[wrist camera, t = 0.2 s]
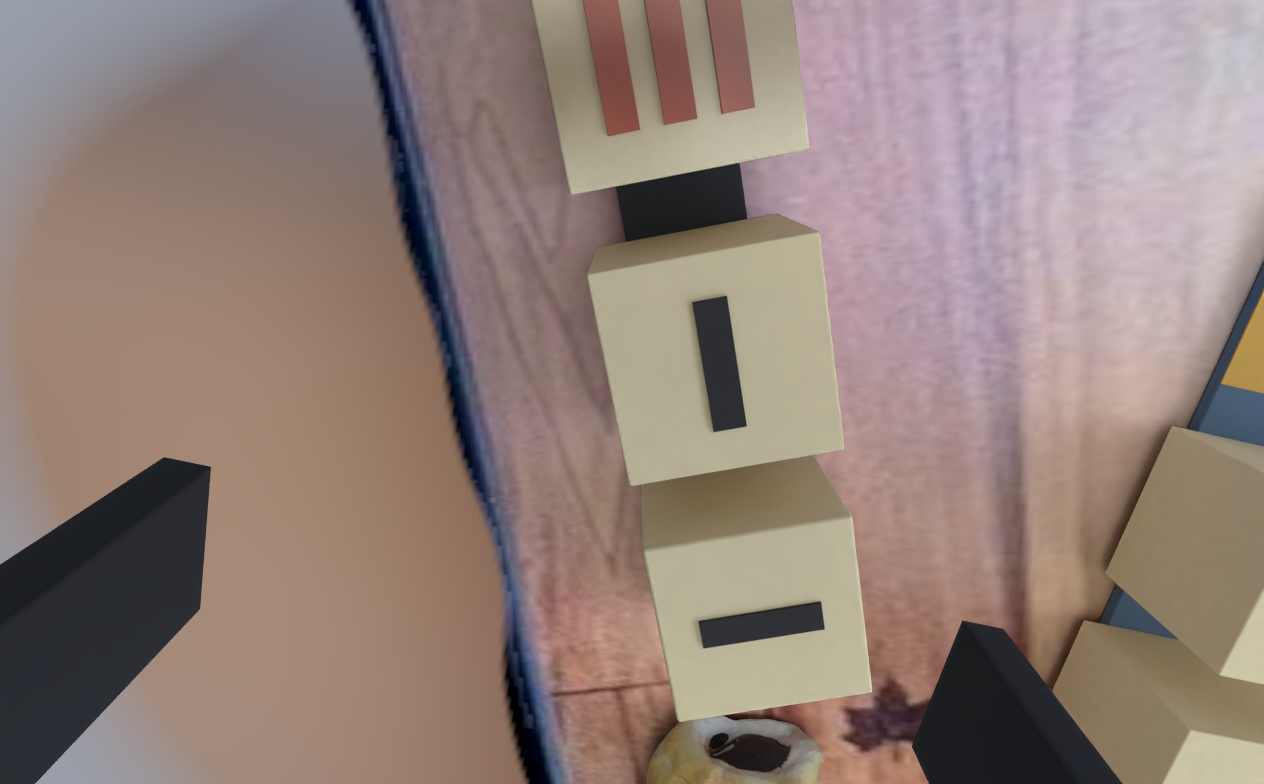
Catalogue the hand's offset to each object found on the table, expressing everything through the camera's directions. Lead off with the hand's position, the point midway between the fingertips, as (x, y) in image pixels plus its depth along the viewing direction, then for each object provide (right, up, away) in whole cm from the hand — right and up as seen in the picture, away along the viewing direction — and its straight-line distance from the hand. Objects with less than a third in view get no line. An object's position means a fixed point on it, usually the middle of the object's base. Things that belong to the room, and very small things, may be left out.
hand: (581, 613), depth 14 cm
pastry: (+5, -13, +19) cm, 24 cm away
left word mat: (+3, +6, +13) cm, 15 cm away
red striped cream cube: (+2, +14, +11) cm, 18 cm away
